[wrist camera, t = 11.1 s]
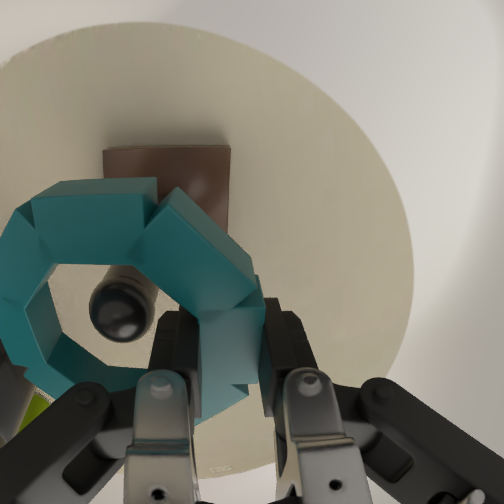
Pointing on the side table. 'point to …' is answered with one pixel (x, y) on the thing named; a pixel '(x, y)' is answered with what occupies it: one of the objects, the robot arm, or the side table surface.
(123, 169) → the peg stand
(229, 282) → the ring
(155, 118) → the side table surface
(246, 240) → the side table surface
